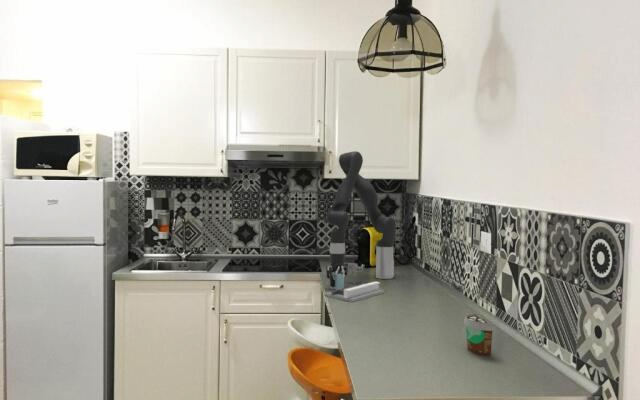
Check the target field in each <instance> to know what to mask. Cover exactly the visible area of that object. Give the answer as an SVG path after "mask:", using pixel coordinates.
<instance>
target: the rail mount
mask: <svg viewBox="0 0 640 400" xmlns="http://www.w3.org/2000/svg"><path fill="white" fill-rule="evenodd" d="M380 284H381V282H380V281H372V282H368V283H364V282H362V283H359V284H353V285H352V286H347V287H344V288H343V289H338V290H335V289H334V290H332V291H329V292H324V297H328V298H333V299H337V300H339V301H340V300H341V301H345V302H351V303H355V302H358V301H363V300H364V299H369V298H371V297H376V296H378V295H381V294H382V295H383V294H385V290H383V289H380Z"/></svg>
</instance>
